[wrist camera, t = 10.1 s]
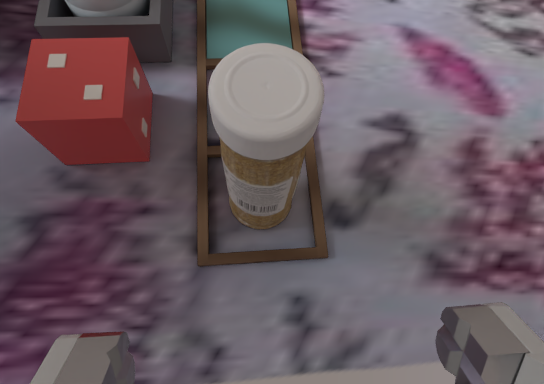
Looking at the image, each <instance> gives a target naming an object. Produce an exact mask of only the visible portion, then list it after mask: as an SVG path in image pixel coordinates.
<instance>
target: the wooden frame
mask: <svg viewBox="0 0 544 384" xmlns="http://www.w3.org/2000/svg"><path fill="white" fill-rule="evenodd" d="M287 5H288V7H287ZM288 14H289V16H288ZM206 19H207V59H206ZM289 22H290V25H289ZM290 31H291V33H290ZM291 40H292V42H291ZM257 43H271V44H277V45H282V46H285V47H288V48H291V49H292V48H293V50H295V51H297V52H299V53H300V54H302V46H301V38H300V30H299V22H298V14H297V7H296V0H197V239H198V266H212V265H228V264H243V263H259V262H274V261H289V260H305V259H320V258H328V250H327V242H326V234H325V226H324V219H323V211H322V203H321V195H320V187H319V179H318V171H317V164H316V156H315V148H314V140H313V136H312V138H311V139H310V140H309V142H308V144H307V147H306V151H305V160H306V169H307V177H308V186H309V194H310V203H311V212H312V220H313V229H314V237H315V246H316V247H312V248H296V249H280V250H264V251H249V252H233V253H217V254H209V223H208V158H210V157H222V156H221V146H207V70H212V69H215V68H216V66H217V65H218V64H219V62H220V61H221V60H222V59H223V58H224V57H226V56H227V55H228V54H230V53H231V52H233V51H235V50H237V49H239V48H241V47H244V46H247V45H252V44H257ZM302 55H303V54H302Z"/></svg>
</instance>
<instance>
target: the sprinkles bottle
mask: <svg viewBox="0 0 544 384" xmlns="http://www.w3.org/2000/svg"><path fill="white" fill-rule="evenodd" d="M208 99H209V105H210V112H211V117H212V122H213V125H214V127H215V130H216V132H217V134H218V135H219V138H220V143H221V156H222V162H223V167H224V172H225V177H226V183H227V188H228V192H229V195H230V196H229V203H230V207H231V210H232V212H233V214H234V216H235V217H236V218H237V219H238V220H239V221H240V222H241V223H242V224H244V225H246V226H248V227H251V228H254V229H268V228H271V227H274V226H276V225H278V224H279V223H280V222H282V221H283V220H284V219H285V218H286V217H287V215H288V213H289V211H290V209H291V203H292V197H293V196H294V193H295V190H296V187H297V184H298V180H299V177H300V173H301V167H302V163H303V159H304V156H305V151H306V147H307V144H308V142H309V140H310V139H311V138H312V136H313V135H314V133H315V131H316V129H317V126H318V122H319V119H320V115H321V111H322V107H323V103H324V86H323V83H322V80H321V77H320V75H319V73H318V71H317V69H316V68H315V67H314V65H313V64H312V63H311V62H310V61H309V60H308V59H307V58H306V57H304V56H303V55H302V54H300V53H299V52H297V51H295V50H293V49H291V48H288V47H285V46H282V45H277V44H271V43H257V44H252V45H247V46H244V47H241V48H239V49H237V50H235V51H233V52H231V53H230V54H228V55H227V56H226V57H224V58H223V59H222V60H221V61H220V62H219V64H218V65H217V66H216V68H215V69H214V71H213V73H212V75H211V78H210V81H209V86H208Z"/></svg>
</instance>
